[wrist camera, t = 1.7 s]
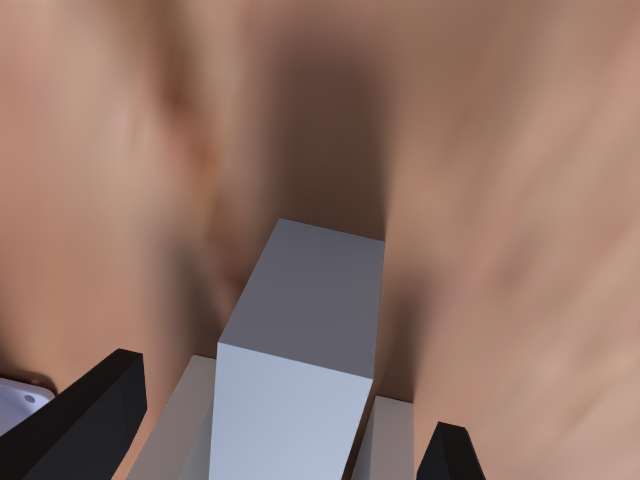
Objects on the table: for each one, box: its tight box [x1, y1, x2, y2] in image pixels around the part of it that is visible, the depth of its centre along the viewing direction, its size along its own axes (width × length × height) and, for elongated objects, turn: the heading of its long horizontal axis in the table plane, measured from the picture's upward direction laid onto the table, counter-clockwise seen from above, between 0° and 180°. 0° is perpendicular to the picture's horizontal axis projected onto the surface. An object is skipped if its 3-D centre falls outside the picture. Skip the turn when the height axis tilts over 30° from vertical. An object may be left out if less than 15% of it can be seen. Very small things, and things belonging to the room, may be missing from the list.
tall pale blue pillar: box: [209, 218, 385, 480], centre depth 16 cm, size 4×12×6 cm, turn 171°
